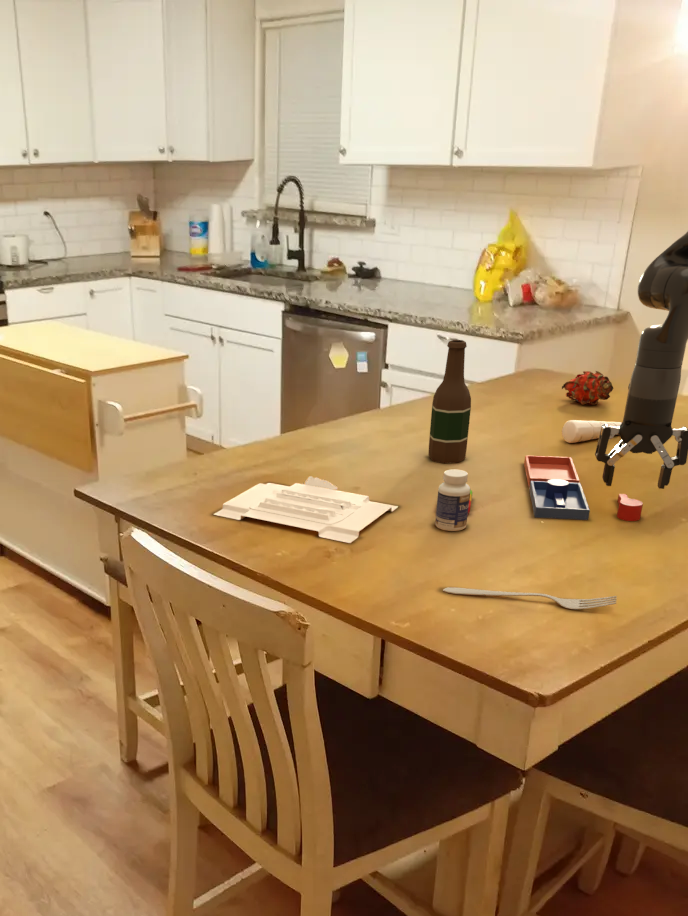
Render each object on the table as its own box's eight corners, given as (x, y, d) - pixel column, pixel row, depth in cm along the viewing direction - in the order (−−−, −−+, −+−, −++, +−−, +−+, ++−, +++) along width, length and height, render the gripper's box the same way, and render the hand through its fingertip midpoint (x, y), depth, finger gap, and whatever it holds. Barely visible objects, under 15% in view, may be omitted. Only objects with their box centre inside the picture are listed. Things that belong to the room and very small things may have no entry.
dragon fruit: (612, 413, 231) (561, 414, 238) (618, 386, 235) (567, 388, 241) (609, 389, 225) (556, 391, 231) (615, 362, 228) (563, 365, 234)
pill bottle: (461, 534, 163) (467, 479, 158) (430, 529, 165) (435, 475, 160) (470, 523, 167) (476, 470, 162) (440, 518, 169) (445, 466, 165)
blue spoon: (544, 492, 178) (546, 478, 177) (565, 493, 177) (567, 479, 176) (549, 511, 170) (551, 497, 168) (571, 513, 169) (573, 498, 167)
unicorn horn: (663, 432, 211) (667, 411, 208) (572, 446, 204) (576, 424, 202) (648, 427, 215) (652, 406, 212) (559, 440, 208) (562, 418, 206)
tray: (351, 543, 160) (351, 522, 159) (212, 520, 175) (211, 500, 173) (399, 506, 175) (399, 487, 174) (268, 487, 190) (267, 469, 188)
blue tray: (579, 492, 179) (580, 482, 178) (588, 520, 167) (589, 510, 166) (529, 490, 181) (530, 480, 180) (534, 517, 168) (536, 507, 168)
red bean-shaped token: (641, 521, 165) (644, 506, 164) (618, 520, 166) (621, 505, 165) (632, 501, 174) (635, 487, 173) (610, 500, 175) (613, 486, 173)
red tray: (570, 466, 193) (571, 457, 192) (578, 489, 180) (579, 480, 179) (524, 464, 195) (525, 455, 194) (528, 487, 182) (529, 478, 181)
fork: (444, 585, 145) (445, 575, 144) (614, 605, 137) (616, 594, 136) (441, 594, 142) (442, 583, 141) (615, 615, 135) (617, 604, 134)
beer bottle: (463, 465, 195) (475, 345, 184) (424, 462, 198) (434, 344, 186) (467, 454, 201) (479, 337, 190) (430, 451, 204) (440, 336, 193)
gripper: (610, 396, 155) (593, 491, 163) (704, 399, 152) (683, 495, 160) (604, 385, 161) (588, 477, 169) (694, 388, 158) (674, 481, 166)
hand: (634, 486), depth 164 cm, fingers open, 8 cm apart
